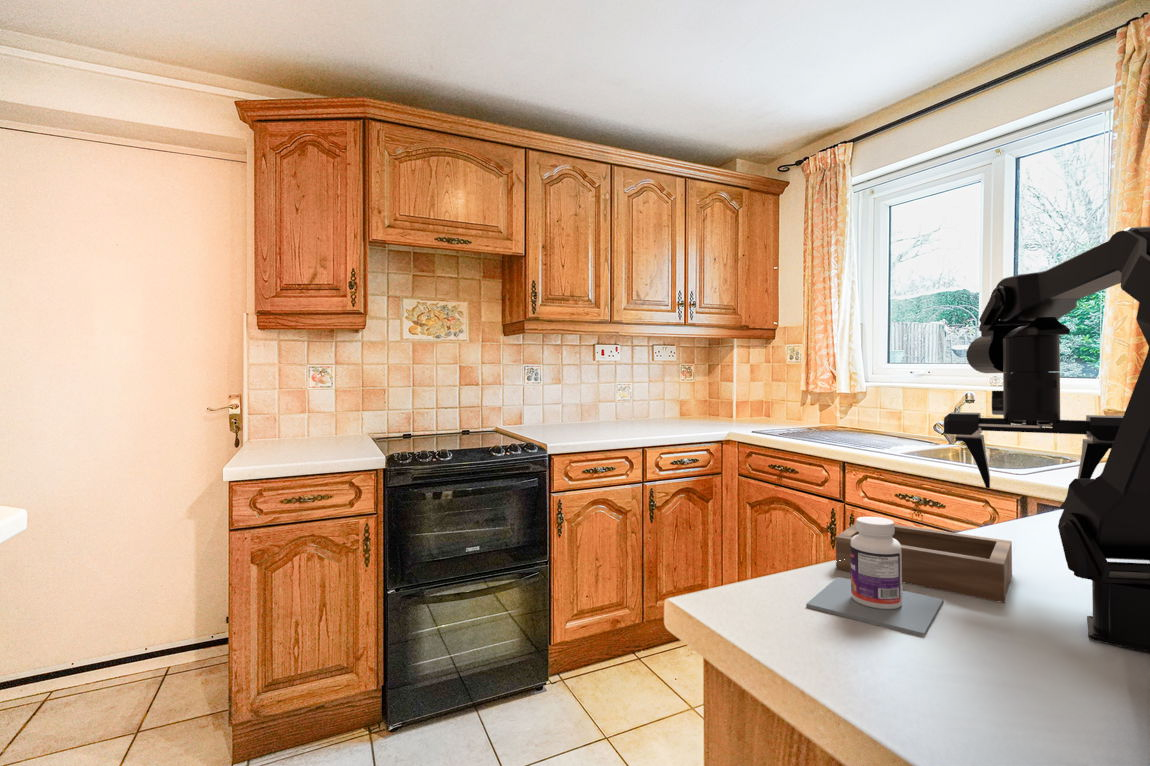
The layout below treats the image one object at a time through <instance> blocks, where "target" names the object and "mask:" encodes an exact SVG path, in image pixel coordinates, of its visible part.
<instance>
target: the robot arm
mask: <svg viewBox="0 0 1150 766" xmlns="http://www.w3.org/2000/svg"><path fill="white" fill-rule="evenodd" d="M1119 284H1120V289H1121V290H1122V291H1124V292H1125V293H1126V294H1127V295H1129V296H1130V297H1131V298H1133V299H1134V300H1135V301H1136V302H1138V303H1139V304H1138V308H1137V313H1136V322H1137V324H1138V327H1139V329H1140V330H1141V333H1142V335H1143V338H1144V339H1145V341H1146V343H1147V346H1148V349H1147V353H1146V355H1145V359H1144V361H1143V364H1142V367H1141V368H1140V369H1141V370H1140V372H1139V374H1138V377H1137V379H1136V382H1135V385H1134V388H1133V391H1132V393H1131V395H1130V398H1129V400H1128V402H1127V403H1128V404H1127V406H1126V409H1125V410H1124V411H1125V412H1124V414H1123V415H1099V414H1098V415H1097V414H1096V415H1095V414H1092V415H1091V414H1088V415H1087V414H1086V416H1085V417H1086V418H1085V419H1084V420H1083V419H1081V420H1080V419H1078V420H1077V419H1061V356H1060V353H1061V352H1060V351H1061V349H1060V348H1061V347H1060V345H1061V343H1060V336H1065V335H1069V334H1070V332H1071V329H1070V328H1069V327H1068V326H1067V325H1066V324H1064V323H1061V322H1060V321H1059V320H1060V319H1061V318H1063V317H1064V316H1066V315H1067V314H1069V313H1070V312H1072V311H1074V310H1075V309H1076V308H1077V307H1078V301H1080V300H1081V299H1083V298H1085V297H1088V296H1091V295H1092V294H1095V293H1099V292H1100V291H1104V290H1107V289H1108V288H1111V287H1114V286H1117V285H1119ZM978 321H979V323H980V324H979V326H978V330H979V332H980V333H981V334H980V336H978V337H977V338H975V339H974V340H973V341H971V343H970V344H969V346H968V348H967V350H966V354H965V355H966V359H967V362H968V364H969V365H970V366H971V368H972V369H973V370H975V371H977V372H979V373H982V374H1003V375H1002V377H1003V378H1002V379H1003V380H1002V381H1003V383H1002V385H1003V386H1002V389H1003V390H992V391H991V414H992V415H993V416H995V415H996V416H997V415H999V416H1003V418H1001V417H982V416H981V412H961V411H960V412H953V411H952V412H950V413H948V414H946V415H945V416H944V417H943V434H944V435H956V436H955V438H954V439H955V441H956V442H964V444H965V446H966V447H967V449H968V451H969V453H970V454H971V456H972V458H973V460H974V463H975V464H976V467H977V468H978V471H979V474H980V476H981V479H982V481H983V484H984V486H985V488H986V489H990V488H991V474H990V469H989V462H988V457H987V450H986V443H985V436H984V435H985V434H982V433H983V431H985V432H1010V433H1011V432H1013V433H1033V434H1034V433H1035V434H1036V433H1038V434H1064V435H1084V436H1085V437H1086V438H1083V439H1082V444H1081V455H1080V462H1079V466H1078V467H1079V468H1078V472H1077V473H1078V475H1077V478H1074V479H1073V480H1071V482H1070V483H1069V484H1068V487H1067V488H1068V489H1067V494H1066V497H1065V499H1064V501H1063V502H1062V504H1060V506H1059V507H1060V509H1061V510H1063V511H1062V513H1061V515H1060V517H1059V520H1058V525H1057V528H1058V533H1059V536H1060V540H1061V544H1062V549H1063V553H1064V554H1063V555H1064V557H1065V561H1066V564H1067V568H1068V570H1070V571H1072V572H1073V575H1074V576H1075V577H1077V578H1080V579H1085V580H1090V581H1091V583H1092V585H1091V587H1092V589H1091V590H1092V592H1091V593H1092V595H1091V596H1092V598H1091V599H1092V615H1087V616H1086V624H1087V633H1088V634H1087V635H1088V638H1089V639H1090V640H1092V641H1095V642H1100V643H1105V644H1109V645H1113V646H1114V645H1115V646H1119V647H1124V648H1128V649H1132V650H1137V651H1141V652H1144V653H1145V652H1147V653H1150V225H1149V226H1136V227H1135V226H1134V227H1133V226H1131V227H1127V228H1124V229H1123V230H1120V231H1116V232H1115V233H1114V234H1112V235H1111V237H1110V238H1109V239H1107V240H1105V241H1103V242H1101V243H1099V244H1097V245H1095V246H1093V247H1091V248H1089V249H1087V250H1085V251H1083V252H1081V253H1078V254H1077V255H1075V256H1073V257H1071V258H1068V259H1067V260H1065V261H1063V262H1060V263H1059V264H1057V265H1055V266H1052V267H1051V268H1049V269H1046V270H1043V271H1037V272H1031V273H1029V272H1028V273H1022V274H1017V275H1013V276H1009V277H1005V278H1002V279H1000V281H999V282H998V283H997V285H996V286H995V288H994V289H993V290H992V292H991V295H990V297H989V300H988V301H987V304H986V305H985V307H984V310H983V311H982V314H981V316H980V317H979V319H978ZM1109 450H1110V451H1109ZM1108 451H1109V454H1108V456H1107V458H1106V462H1105V464H1104V467H1103V469H1102V471H1101V473H1100V474H1099V475H1098V476H1097V477H1095V478H1092V477H1093V475H1094V472H1095V471H1096V468H1097V466H1098V465H1099V464H1100V462H1101V461H1102V459H1103V458H1104V456H1106V454H1107V452H1108ZM1108 560H1127V561H1130V560H1131V561H1149V563H1146V562H1125V561H1124V562H1123V561H1122V562H1121V561H1108Z"/></svg>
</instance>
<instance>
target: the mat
mask: <svg viewBox="0 0 1150 766" xmlns="http://www.w3.org/2000/svg"><path fill="white" fill-rule="evenodd" d="M943 604H944V598H939V597H935V596H930V595H925V594H921V593H917V592H911V591H907V590H902V605H901V606H900V607H899V608H896V609H877V608H872V607H868V606H864V605H862V604H859V603H858V602H856V601H855V600H854V599H853V598H852V594H851V578H844V577H839V576H837V577H836V578H835V579H833V580H832V581H831V582H830V583H828V584H827V585H826V586H824V588H823V589H822V590H821V591H819V592H818V593H817V594H816V595H815V596H814V597H812V598H811V599H810V600H809V601H808V602H807V603H806V604H805V606H806V607H805V608H809V609H813V610H816V611H820V612H825V613H828V614H831V615H832V614H833V615H836V616H840V617H843V618H848V619H852V620H857V621H860V622H865V623H868V624H870V625H876V626H879V627H883V628H888V629H891V630H895V631H900V632H903V633H907V634H910V635H915V636H919V637H921V638H922V637H923V638H926V635H927V633H928V631H929V629H930V628H931V626H932V624H933V622H934V621H935V619H936V616H937V615H938V613H939V611H940V609H941V608H942V605H943Z"/></svg>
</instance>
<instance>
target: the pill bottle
mask: <svg viewBox="0 0 1150 766" xmlns="http://www.w3.org/2000/svg"><path fill="white" fill-rule="evenodd" d="M855 523H856V528H857V531H858V532H859V534H858V535H855V536H854V537H853V538H852V539H851V546H850V549H851V572H850V580H851V594H852V598H853V599H854V600H855V601H856V602H858V603H859V604H862V605H864V606H868V607H872V608H877V609H896V608H899V607H900V606H901V605H902V591H903V582H902V552H901V545H900V543H899V542H898V541H897V540H896V539H894V538H892V535H894V532H895V530H894V524H895V522H894V521H893V520H892V519H889V518H885V517H880V516H879V517H878V516H860V517H857V518H856V520H855Z"/></svg>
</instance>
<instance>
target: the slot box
mask: <svg viewBox="0 0 1150 766" xmlns="http://www.w3.org/2000/svg"><path fill="white" fill-rule="evenodd" d="M894 530H895V532H894V535H892V538H894V539H896V540H897V541H898V542H899V543H900V545H901V552H902V583H903V582H905V584H908V583H909V585H913V586H919V587H924V588H928V589H934V590H939V591H943V592H948V593H953V594H957V595H962V596H967V597H973V598H979V599H981V600H982V599H983V600H989V601H993V602H999V603H1006V598H1007V594H1008V590H1009V587H1010V584H1011V580H1012V576H1013V551H1012V550H1013V549H1012V547H1013V546H1012V543H1013V542H1012V540H1007V539H998V538H993V537H987V536H977V535H973V534H972V535H971V534H964V533H957V532H951V531H943V530H938V529H937V530H936V529H929V528H928V529H927V528H922V527H914V526H907V525H901V524H900V525H899V524H895V523H894ZM858 534H859V532H858V531H857V528H856V522H855V523H854V524H852V525H850V527H847V528H846V529H845V530H843V531H842V532H841V533H839V534H838V535H836V536H835V565H836V566H835V569H836V570H839V571H844V572H849V573H851V549H850V546H851V539H852V538H853V537H854V536H855V535H858ZM844 559H845V560H844ZM839 560H841V561H839ZM836 561H837V562H836Z"/></svg>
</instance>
